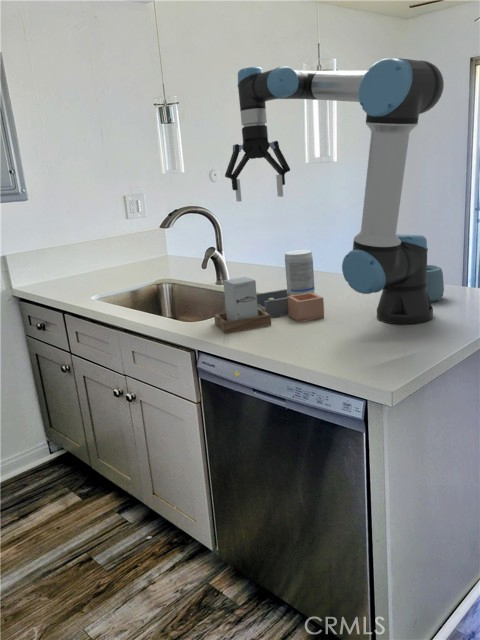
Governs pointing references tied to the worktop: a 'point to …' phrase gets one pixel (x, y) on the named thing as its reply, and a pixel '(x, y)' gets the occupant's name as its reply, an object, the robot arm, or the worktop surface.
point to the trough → (242, 322)
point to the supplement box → (240, 298)
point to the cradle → (273, 302)
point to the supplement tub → (299, 272)
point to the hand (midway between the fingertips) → (260, 199)
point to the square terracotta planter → (305, 306)
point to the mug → (434, 282)
